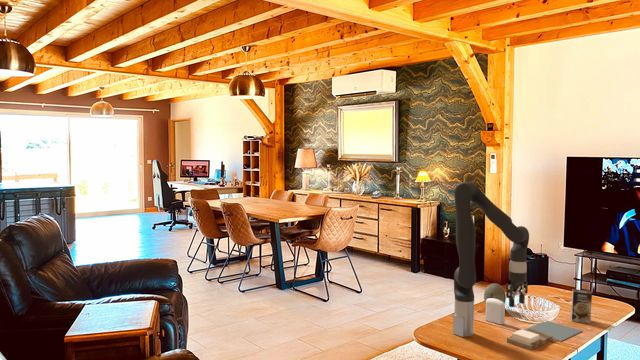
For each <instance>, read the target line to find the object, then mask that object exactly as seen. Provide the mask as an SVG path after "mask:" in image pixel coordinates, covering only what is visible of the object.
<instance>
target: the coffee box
mask: <svg viewBox="0 0 640 360" xmlns="http://www.w3.org/2000/svg"><path fill="white" fill-rule="evenodd" d="M571 291H572V293H571V295H572V296H571V309H570V320H571V322H575V323H583V324H585V323H586V324H591V318H592V317H591V316H592V315H591V314H592V302H593V299H592V298H593V294H592V291H591V290H585V289H575V288H572V290H571Z"/></svg>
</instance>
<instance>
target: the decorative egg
mask: <svg viewBox="0 0 640 360" xmlns="http://www.w3.org/2000/svg"><path fill="white" fill-rule="evenodd" d="M505 292H506V291H505V289H504V288H503V286H501V284H499V283H496V282H494V283H493V282H492V283H490V284H488V285H487V286H486V287H485V289H484V292H483V301H484V304H485V305H486V300H487V299H489V298H495V299H498V300H501V301H502V302H504V303H506V293H505Z"/></svg>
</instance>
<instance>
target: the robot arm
mask: <svg viewBox="0 0 640 360" xmlns="http://www.w3.org/2000/svg"><path fill="white" fill-rule="evenodd" d="M453 192H454V193H453V195H454V204H455V206H454V207H455V245H456V249H457V253H458V259H459V263H458V267H457V268H456V269H455V271H454V273H453V290H454V291H453V293H454V312H453V313H454V314H453V316H452V317H453V319H452V334H453V335H456V336H459V337H462V338H466V337H472V336H474V323H475V322H474V320H475V319H474V317H475V314H474V313H475V293H474V286H475V284H476V282H477V271H476V262H475V261H476V260H475V259H476V257H475V255H476V225H475V223H474V220H473V217H472V213H471V203H473V204H475V205H476V206H478V207H479V208H480V210H481V211H482V212H483V214H485V215H484V216H486V218H487V219H488V220H489V221H490V222H491V223H493V225H495V226H496V227H497V228H498V229H500V231H501V232H502V233H503V234H504V236H506V237H505V238H507V239H508V240H509V241H511V242H512V247H511V248H510V251H509V264H508V265H509V266H508V280H509V281H510V284H506V289H505V290H506V291H505V292H506V293H505V296H506V298H507V299H508V306H509V307H510V308H515V297H516V296H517V295H518V294H519V295H518V297H519V298H518V303H519V304H525V296H526V295H527V294H528V292H529V289H528V285H529V284H528V283H529V282H528V280H527V267H528V266H527V250H528V246H529V241H530V232H529V229H528V228H526V227H525V226H523V225H519V226H516V224H514V222H513V219H512V218H511V217H510V216H509V215H508V214H507V213H505V212H504V211H503V210H501V208H499V207H498V206H497V205H496V204H495V203H494V202H492V201H491V200H490V199H489V197H487V196H486V195H485V194H484V192H483V191H482V190H481V188H479V186H478V185H477V184H475V183H474V182H472V181H463V182H459V183H458V184H457V185H456V186H455V187H454V191H453Z"/></svg>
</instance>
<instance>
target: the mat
mask: <svg viewBox="0 0 640 360" xmlns="http://www.w3.org/2000/svg"><path fill="white" fill-rule="evenodd" d="M545 321H546V320H545ZM528 329H532V330H535V331H538V332H542V333H545V334H548V335H551V336H553V340H554V341H558V342H560V343H562V342H563V341H565V340H567V339H569V338H571V337H574V336H576V335H578V334H580V333H582V332H583V330H581V329H578V328H575V327H572V326H569V325H564V324H562V323H561V324H560V323H558V322H554V321H550V320H547V321H546V322H543V321H541V322H538V323H536V324H534V325H531V326H529V327H526V328H524V329H523V330H528Z"/></svg>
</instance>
